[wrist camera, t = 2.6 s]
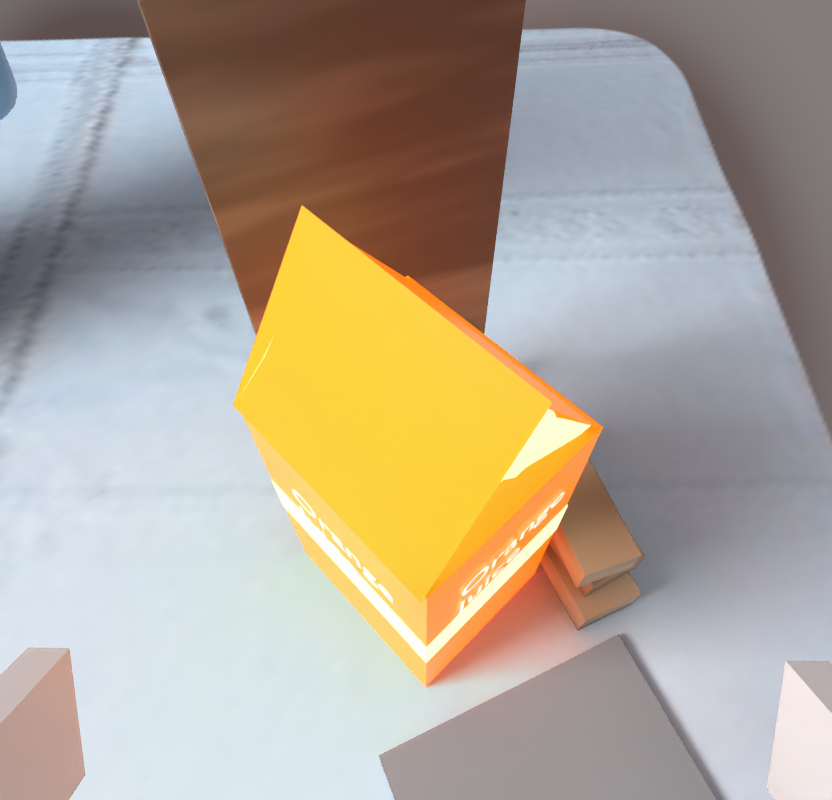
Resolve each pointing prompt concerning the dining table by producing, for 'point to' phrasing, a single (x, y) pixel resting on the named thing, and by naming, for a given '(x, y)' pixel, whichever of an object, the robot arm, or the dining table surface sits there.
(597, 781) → the grey mat
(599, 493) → the walnut rack
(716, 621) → the dining table surface
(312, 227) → the orange juice
